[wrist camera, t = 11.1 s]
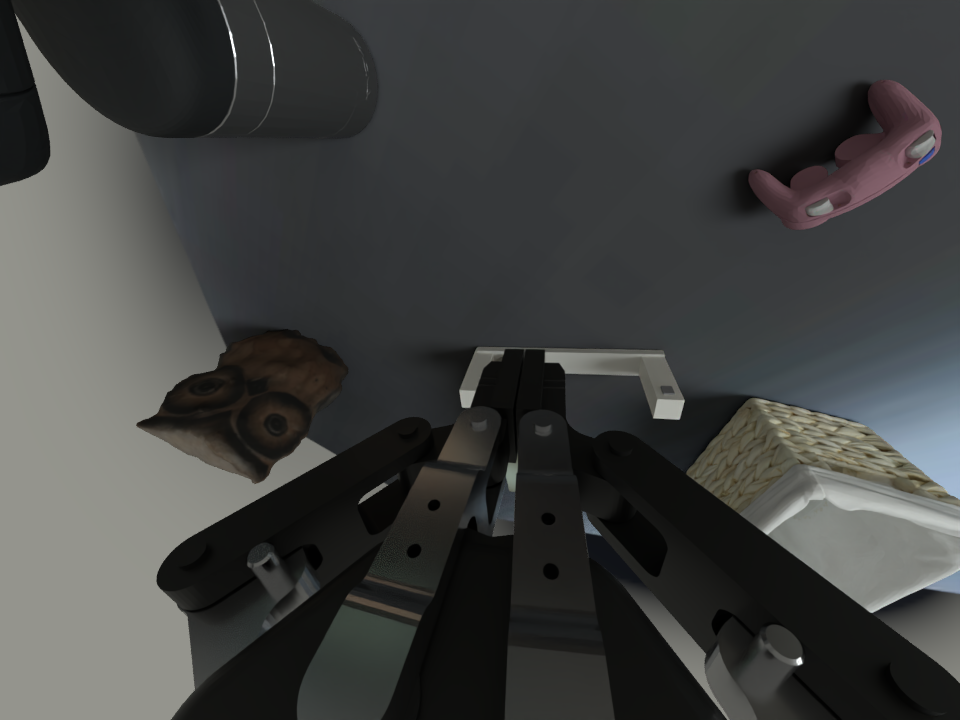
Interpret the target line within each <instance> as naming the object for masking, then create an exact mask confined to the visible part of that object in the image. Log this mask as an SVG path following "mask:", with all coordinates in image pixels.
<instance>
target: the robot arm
mask: <svg viewBox="0 0 960 720" xmlns="http://www.w3.org/2000/svg"><path fill="white" fill-rule="evenodd" d="M15 14H16V15H17V17H18V18H19V20H20V21H21V23H22V24H23V26H24V27H25V29H26V30H27V32H28V33H29V35H30V37H31V39H32V40H33V41H34V43H35V44H36V46H37V47H38V49H39V50H40V51H41V53H42V54H43V55H44V57H45V58H46V59H47V61H48V62H49V63H50V65H51V66H52V67H53V68H54V69H55V70H56V71H57V73H58V74H59V75H60V76H61V77H62V79H63V80H64V81H65V82H66V83H67V84H68V85H69V86H70V87H71V88H72V89H73V90H74V91H75V92H76V93H77V94H78V95H79V96H80V97H81V98H82V99H83V100H85V101H86V102H87V103H88V104H90V105H91V106H92V107H93V108H94V109H95V110H97V111H98V112H100V113H101V114H102V115H104V116H105V117H107V118H109V119H110V120H112V121H113V122H115V123H117V124H119V125H121V126H123V127H125V128H127V129H129V130H132V131H135V132H138V133H141V134H145V135H148V136H154V137H164V138H195V137H209V138H237V137H264V138H347V137H351V136H353V135H356V134H358V133H359V132H360V131H362V130H363V129H364V128H365V127H366V125H367V124H368V123H369V121H370V120H371V118H372V115H373V113H374V111H375V107H376V102H377V94H378V83H377V74H376V69H375V66H374V62H373V58H372V56H371V54H370V52H369V49H368V47H367V45H366V44H365V42H364V40H363V39H362V37H361V36H360V34H359V33H358V32H357V31H356V30H355V29H354V28H353V27H352V26H351V24H349V23H348V22H347V21H345V20H344V19H342V18H341V17H339V16H338V15H336V14H334V13H332V12H330V11H328V10H327V9H325V8H323V7H321V6H319V5H318V4H316V3H314V2H313V1H311V0H0V186H2V185H6V184H9V183H13V182H17V181H20V180H23V179H26V178H29V177H31V176H33V175H35V174H37V173H38V172H40V171H41V170H43V169H44V167H45V166H46V165H47V163H48V160H49V157H50V140H49V134H48V129H47V125H46V121H45V117H44V114H43V110H42V106H41V102H40V99H39V95H38V91H37V88H36V85H35V83H34V82H35V81H34V77H33V74H32V70H31V67H30V63H29V60H28V57H27V53H26V50H25V47H24V43H23V39H22V36H21V33H20V29H19V26H18V22H17V19H16V16H15ZM517 453H518V472H517V473H516V487H515V511H514V535H506V536H497V537H492V536H493V531H494V527H495V523H496V519H497V515H498V511H499V507H500V503H501V500H502V496H503V492H504V488H505V484H506V473H507V468H508V463H516V460H517ZM396 474H397V476H398V479H397V480H396V481H394V482H393V483H391V484H389V485H388V486H386V487H385V488H383V489H382V490H380V491H379V492H377V493H376V494H374V495H373V496H371V497H370V498H368V499H367V500H365V501H364V502H362V503H360V504H358V503H359V501H360V499H361V498H362V497H363V496H364V495H365V494H366V493H368V492H370V491H371V490H373V489H374V488H376V487H377V486H379V485H380V484H382V483H383V482H385V481H387V480H388V479H390V478H391V477H393V476H394V475H396ZM582 511H584V512H586V514H587V517H588V519H589V521H590V522H591V523H592V525H593V526H594V527H595V528H596V529H597V530H598V531H599V533H600V534H601V535H602V536H603V537H604V538H605V539H606V540H607V542H608V543H609V544H610V545H611V546H612V547H613V549H614V550H615V551H616V552H617V553H618V554H619V555H620V556H621V558H622V559H623V560H624V561H625V562H626V563H627V564H628V566H629V567H630V568H631V569H632V570H633V571H634V572H635V573H636V575H637V576H638V577H639V578H640V579H641V580H642V581H643V583H644V584H645V585H646V586H647V587H648V588H649V589H650V591H652V593H653V594H654V595H655V596H656V597H657V599H658V600H659V601H660V602H661V603H662V604H663V605H664V606H665V608H666V609H667V610H668V611H669V612H670V613H671V614H672V616H673V617H674V618H675V619H676V620H677V621H678V622H679V624H680V625H681V626H682V627H683V628H684V629H685V630H686V631H687V633H688V634H689V635H690V636H691V637H692V638H693V639H694V640H695V642H696V643H697V644H698V645H699V646H700V647H701V649H703V651H704V652H705V653H706V657H705V674H706V677H707V681H708V684H709V686H710V689H711V690H712V692H713V694H714V696H715V698H716V699H717V701H718V702H719V704H720V705H721V707H722V708H723V710H724V711H725V713H726V714H727V716H728V717H729V719H730V720H960V683H959V682H958V681H957V680H956V679H955V678H954V677H953V676H952V675H951V674H950V673H948V672H947V671H946V670H945V669H944V668H943V667H942V666H940V665H939V664H938V663H937V662H935V661H934V660H933V659H931V658H930V657H929V656H927V655H926V654H925V653H924V652H922V651H921V650H920V649H918V648H917V647H915V646H914V645H913V644H912V643H910V642H909V641H908V640H906V639H905V638H904V637H902V636H901V635H900V634H898V633H897V632H896V631H894V630H893V629H892V628H890V627H889V626H888V625H886V624H885V623H884V622H882V621H881V620H880V619H878V618H877V617H875V616H874V615H873V614H872V613H870V612H869V611H868V610H866V609H865V608H864V607H862V606H861V605H860V604H858V603H857V602H856V601H854V600H853V599H852V598H850V597H849V596H848V595H846V594H845V593H844V592H842V591H841V590H840V589H838V588H837V587H836V586H834V585H833V584H832V583H830V582H829V581H828V580H826V579H825V578H824V577H822V576H821V575H820V574H818V573H817V572H816V571H814V570H813V569H812V568H810V567H809V566H808V565H806V564H805V563H804V562H802V561H801V560H800V559H798V558H797V557H796V556H794V555H793V554H792V553H790V552H789V551H788V550H786V549H785V548H784V547H782V546H781V545H780V544H778V543H777V542H776V541H774V540H773V539H772V538H770V537H769V536H768V535H766V534H765V533H764V532H762V531H761V530H760V529H758V528H757V527H756V526H754V525H753V524H752V523H751V522H749V521H748V520H747V519H745V518H744V517H743V516H741V515H740V514H739V513H737V512H736V511H735V510H733V509H732V508H731V507H729V506H728V505H727V504H725V503H724V502H723V501H721V500H720V499H719V498H717V497H716V496H715V495H713V494H712V493H711V492H709V491H708V490H707V489H705V488H704V487H703V486H701V485H700V484H699V483H697V482H696V481H695V480H693V479H692V478H691V477H689V476H688V475H687V474H685V473H684V472H683V471H681V470H680V469H679V468H677V467H676V466H675V465H673V464H672V463H671V462H669V461H668V460H667V459H665V458H664V457H663V456H661V455H660V454H659V453H657V452H656V451H655V450H653V449H652V448H651V447H649V446H648V445H647V444H645V443H644V442H643V441H641V440H640V439H639V438H637V437H636V436H634V435H632V434H629V433H626V432H622V431H607V432H604V433H601V434H600V435H598V436H597V437H596V438H592V437H589V436H586V435H583V434H581V433H579V432H577V431H575V430H574V429H573V428H572V427H571V426H570V425H569V424H568V422H567V420H566V406H565V370H564V369H563V368H562V366H561V365H560V364H559V363H546V362H545V349H526V350H524V349H505V351H504V355H503V358H502V361H491V362H490V363H489V364H488V365H486V366H485V367H484V368H483V371H482V374H481V378H480V380H479V383H478V386H477V389H476V392H475V395H474V397H473V400H472V403H471V406H470V408H469V409H467V410H465V411H464V412H462V413H461V414H460V415H459V417H458V418H457V420H456V422H455V424H452V425H449V426H444V427H439V428H433V429H431V425H430V423H429V422H428V421H427V420H425V419H423V418H419V417H410V418H405V419H402V420H400V421H398V422H396V423H394V424H392V425H390V426H389V427H387V428H385V429H383V430H381V431H380V432H378V433H376V434H374V435H372V436H371V437H369V438H367V439H365V440H364V441H362V442H360V443H358V444H356V445H355V446H353V447H351V448H349V449H347V450H346V451H344V452H342V453H340V454H338V455H337V456H335V457H333V458H331V459H330V460H328V461H326V462H324V463H322V464H321V465H319V466H317V467H315V468H313V469H312V470H310V471H308V472H306V473H304V474H303V475H301V476H299V477H297V478H296V479H294V480H292V481H290V482H288V483H287V484H285V485H283V486H281V487H279V488H278V489H276V490H274V491H272V492H270V493H269V494H267V495H265V496H263V497H262V498H260V499H258V500H256V501H254V502H252V503H251V504H249V505H247V506H245V507H243V508H242V509H240V510H238V511H236V512H235V513H233V514H231V515H229V516H228V517H226V518H224V519H222V520H220V521H219V522H217V523H215V524H213V525H211V526H210V527H208V528H206V529H204V530H202V531H201V532H199V533H197V534H195V535H193V536H192V537H190V538H188V539H187V540H185V541H184V542H183V543H181V544H180V545H179V546H178V547H176V548H175V549H174V550H173V551H172V552H171V553H170V554H169V555H168V557H167V558H166V559H165V560H164V562H163V563H162V565H161V567H160V569H159V571H158V574H157V585H158V586H159V587H160V589H161V590H163V591H164V592H165V593H166V594H167V595H168V596H169V597H170V598H171V599H172V600H173V601H175V602H176V603H177V606H178V608H179V609H180V610H181V611H182V612H183V613H184V614H185V615H186V616H188V624H189V634H190V643H191V654H192V664H193V674H194V684H195V691H194V692H193V693H192V694H191V695H190V696H189V698H188V699H187V700H186V701H185V702H184V703H183V704H182V706H181V707H180V709H179V710H178V711H177V712H176V714H175V715H174V717H173V718H172V719H171V720H727V719H726V718H725V716H724V715H723V714H722V712H721V711H720V710H719V709H718V707H717V706H716V705H715V703H714V702H713V701H712V700H711V698H710V697H709V696H708V694H707V693H706V692H705V691H704V689H703V688H702V687H701V686H700V684H699V683H698V682H697V680H696V679H695V678H694V676H693V675H692V674H691V673H690V671H689V670H688V669H687V667H686V666H685V665H684V664H683V662H682V661H681V660H680V658H679V657H678V656H677V655H676V653H675V652H674V651H673V649H672V648H671V647H670V646H669V645H668V643H667V642H666V640H665V639H664V638H663V637H662V635H661V634H660V633H659V632H658V630H657V629H656V627H655V626H654V625H653V624H652V622H651V621H650V620H649V618H648V617H647V616H646V615H645V613H644V612H643V611H642V609H640V607H639V606H638V605H637V603H636V602H635V600H634V599H633V598H632V597H631V595H630V594H629V593H628V592H627V590H626V589H625V588H624V587H623V585H622V584H621V583H620V582H619V581H618V580H617V579H616V578H615V577H614V576H613V575H612V574H611V573H610V572H609V571H608V570H607V569H605V568H604V567H603V566H602V565H600V564H599V563H597V562H596V561H594V560H593V559H591V558H589V557H588V551H587V544H586V537H585V530H584V523H583V516H582Z"/></svg>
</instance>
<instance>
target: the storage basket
mask: <svg viewBox="0 0 960 720" xmlns="http://www.w3.org/2000/svg"><path fill="white" fill-rule="evenodd" d="M686 474H687V475H688V476H689V477H691V478H692V479H693V480H695V481H696V482H697V483H699V484H700V485H701V486H703V487H704V488H705V489H707V490H708V491H709V492H711V493H712V494H713V495H715V496H716V497H717V498H719V499H720V500H721V501H723V502H724V503H725V504H727V505H728V506H729V507H731V508H732V509H733V510H735V511H736V512H737V513H739V514H740V515H741V516H743V517H744V518H745V519H747V520H748V521H749V522H751V523H752V524H753V525H754V526H756V527H757V528H758V529H760V530H761V531H762V532H764V533H765V534H766V535H768V536H769V537H770V538H772V539H773V540H774V541H776V542H777V543H778V544H780V545H781V546H782V547H784V548H785V549H786V550H788V551H789V552H790V553H792V554H793V555H794V556H796V557H797V558H798V559H800V560H801V561H802V562H804V563H805V564H806V565H808V566H809V567H810V568H812V569H813V570H814V571H816V572H817V573H818V574H820V575H821V576H822V577H824V578H825V579H826V580H828V581H829V582H830V583H832V584H833V585H834V586H836V587H837V588H838V589H840V590H841V591H842V592H844V593H845V594H846V595H848V596H849V597H850V598H852V599H853V600H854V601H856V602H857V603H858V604H860V605H861V606H862V607H864V608H865V609H866V610H868V611H869V612H870V613H872V612H874V611H876V610H878V609H880V608H882V607H884V606H886V605H888V604H890V603H892V602H894V601H896V600H898V599H900V598H902V597H904V596H906V595H909V594H911V593H913V592H916V591H918V590H920V589H922V588H924V587H926V586H929V585H931V584H933V583H935V582H937V581H939V580H941V579H943V578H945V577H947V576H950V575H951V574H953V573H955V572H957V571H959V570H960V500H959V499H958V498H956V497H954V496H950V495H949V494H948V493H947V491H946V490H945V489H944V488H943V487H941V486H940V485H939V484H937V483H936V482H934V481H933V480H931V479H930V478H929V477H928V476H927V475H925V474H924V473H923V472H922V471H921V470H920V469H918V468H917V467H916V466H915V465H913V464H912V463H910V462H909V461H908V460H907V459H906V458H904V457H903V456H902V454H900V453H899V452H898V451H896V450H894V448H893V447H892V446H891V445H890V444H888V443H887V442H886V441H884V440H883V439H882V438H881V437H880V436H878V435H877V434H876V433H875V432H874V431H873V430H871V429H870V428H869V427H866V426H865V425H862V424H860V423H856V422H852V421H847V420H845V419H842V418H838V417H832V416H828V415H826V414H822V413H818V412H810V411H809V410H806V409H803V408H799V407H794V406H786V405H784V404H781V403H777V402H769V401H767V400H763V399H759V398H751V399H748V400H747V401H746V402H745V403H744V404H743V406H742V407H741V408H739V409H738V411H737V413H736V414H735V415H734V416H733V417H732V419H731V420H730V422H729V423H727V424H726V425H725V426H724V428H723V429H722V430H721V432H720V433H719V435H718V436H716V437H715V438H714V439H713V440H712V441H711V442H710V443H709V444H708V446H707V448H706V450H705V451H704V452H703V453H702V454H701V455H700V456H699V457H698V459H697V460H696V461H695V463H694V464H693V465H692V466H691V467H690V468H689V469H688V470H687V472H686Z"/></svg>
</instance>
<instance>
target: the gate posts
mask: <svg viewBox="0 0 960 720" xmlns="http://www.w3.org/2000/svg"><path fill="white" fill-rule="evenodd" d="M505 349H524V350H526V349H545V362H546V363H559V364H560V365H561V366H562V368H563V369H564V370H565V373H571V374H601V375H632V376H640V379H641V382H642V385H643V388H644V392H645V395H646V398H647V401H648V404H649V407H650V410H651V413H652V416H653V418H658V419H676V420H680V416H681V413H682V409H683V405H684V402H685V400H684V398H683V395H682V393H681V391H680V389H679V387H678V385H677V383H676V381H675V378H674V376H673V374H672V372H671V370H670V368H669V366H668V364H667V362H666V359H665V357H664V356H665V354H664V352H663V350H626V349H571V348H516V347H477V349H476V350H475V353H474V355H473V358H472V360H471V363H470V365H469V368H468V370H467V373H466V375H465V377H464V380H463V382H462V385H461V387H460V390H459V391H460V398H461V405H462V407H463V408H470V406H471V403H472V400H473V397H474V395H475V392H476V389H477V386H478V383H479V380H480V378H481V374H482V371H483V368H484V367H485V366H486V365H488V364H489V363H490V362H491V361H498V359H499V358H500V357H502V356H503V355H504V351H505Z"/></svg>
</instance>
